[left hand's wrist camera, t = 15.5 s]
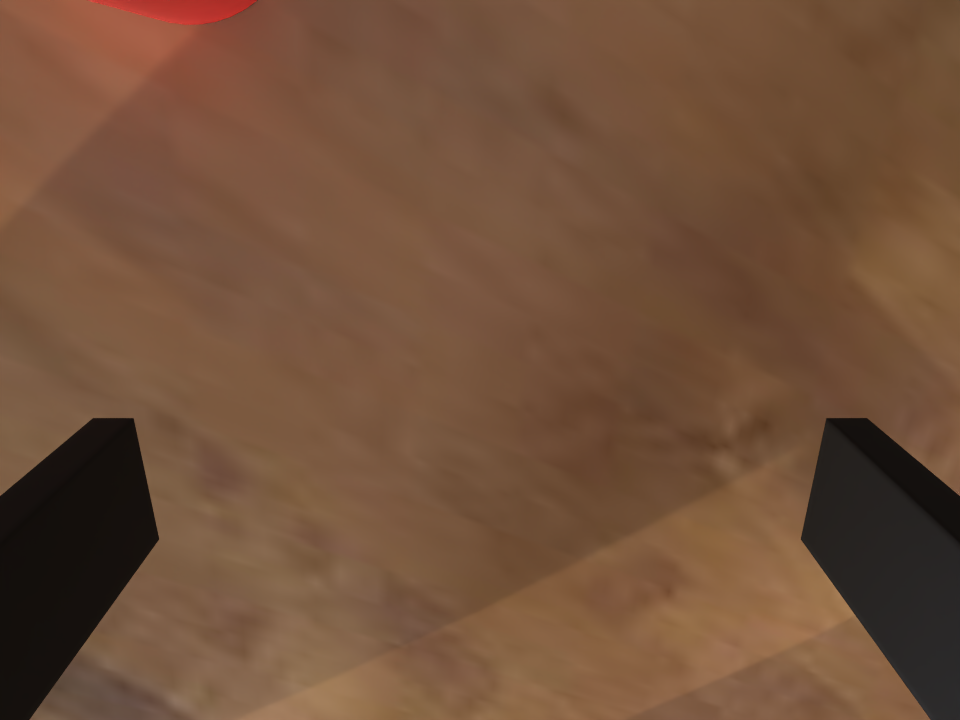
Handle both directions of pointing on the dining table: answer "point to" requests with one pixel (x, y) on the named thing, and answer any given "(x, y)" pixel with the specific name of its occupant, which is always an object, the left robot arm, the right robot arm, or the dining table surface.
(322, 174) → the dining table surface
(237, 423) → the dining table surface
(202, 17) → the can
